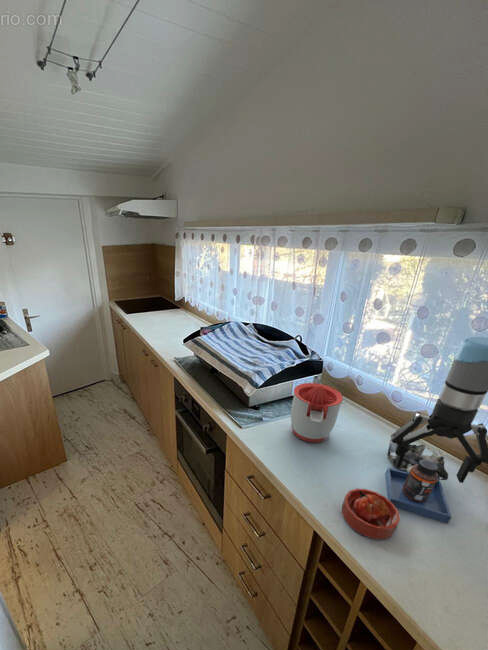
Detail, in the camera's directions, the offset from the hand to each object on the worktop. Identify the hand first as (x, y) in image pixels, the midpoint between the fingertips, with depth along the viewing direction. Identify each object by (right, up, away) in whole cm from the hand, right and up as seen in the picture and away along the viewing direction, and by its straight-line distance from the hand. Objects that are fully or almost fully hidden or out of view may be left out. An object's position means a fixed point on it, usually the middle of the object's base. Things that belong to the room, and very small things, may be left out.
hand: (427, 471), depth 81 cm
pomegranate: (-17, -12, -2) cm, 21 cm away
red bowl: (-17, -12, -2) cm, 21 cm away
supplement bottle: (0, -8, +5) cm, 9 cm away
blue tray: (0, -8, +5) cm, 10 cm away
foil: (+6, -3, +15) cm, 16 cm away
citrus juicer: (-20, +5, +30) cm, 36 cm away
